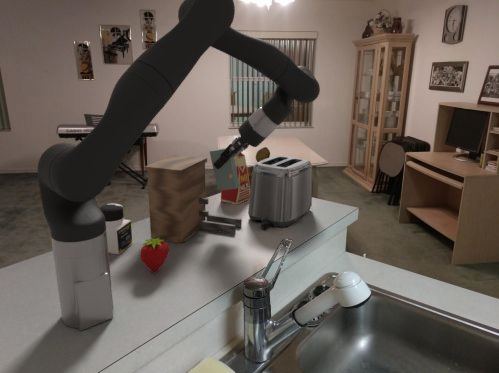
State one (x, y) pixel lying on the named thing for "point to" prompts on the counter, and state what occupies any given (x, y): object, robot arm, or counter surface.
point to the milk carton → (244, 189)
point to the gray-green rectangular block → (224, 172)
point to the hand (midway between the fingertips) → (218, 165)
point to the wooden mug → (258, 160)
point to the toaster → (280, 190)
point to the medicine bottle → (116, 228)
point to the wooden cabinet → (181, 200)
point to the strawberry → (154, 254)
